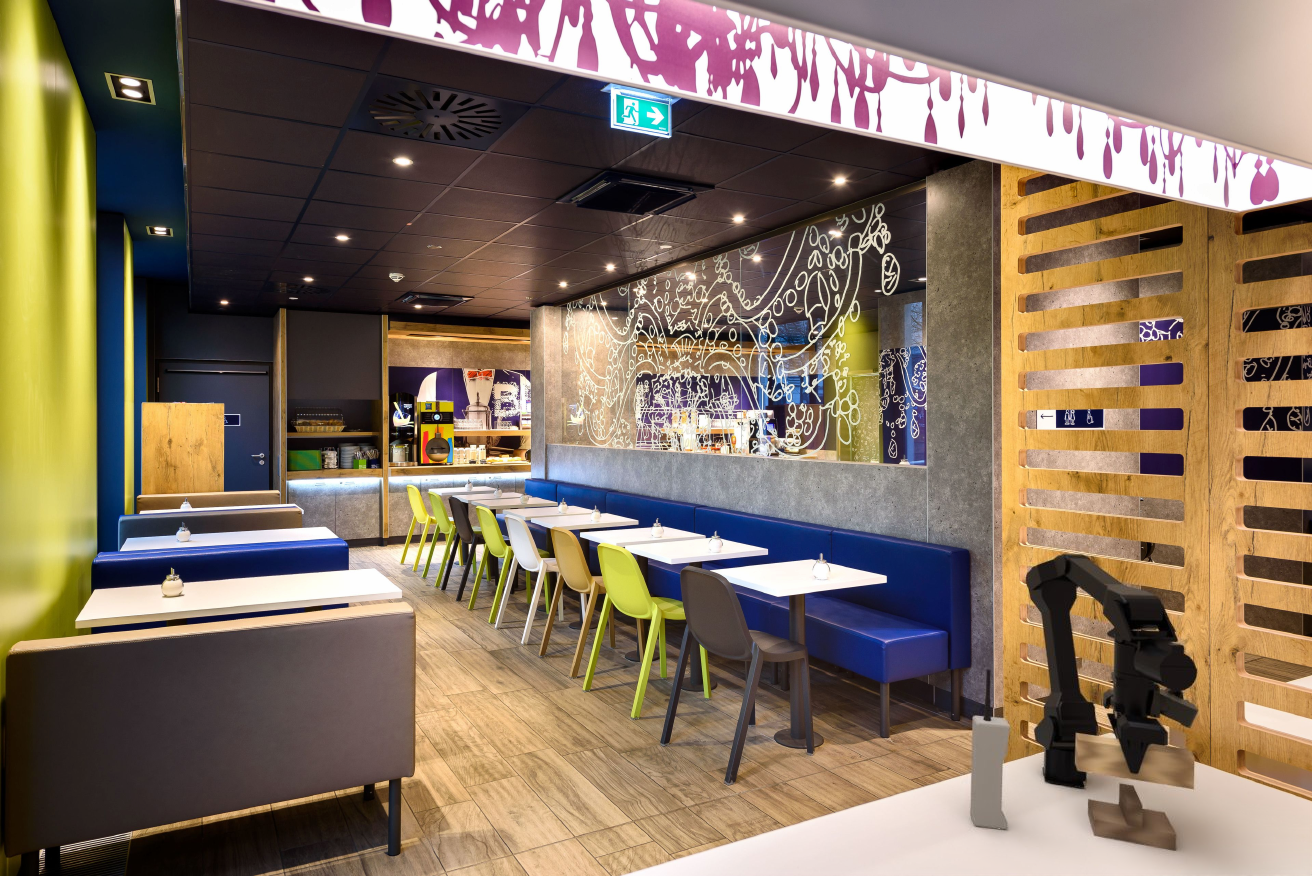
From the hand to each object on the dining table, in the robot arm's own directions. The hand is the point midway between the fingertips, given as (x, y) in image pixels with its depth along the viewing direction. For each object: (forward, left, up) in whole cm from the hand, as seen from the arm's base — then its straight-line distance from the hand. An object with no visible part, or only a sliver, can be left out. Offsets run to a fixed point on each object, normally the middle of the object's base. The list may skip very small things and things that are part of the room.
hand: (1131, 768), depth 127 cm
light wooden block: (0, 0, -1) cm, 1 cm away
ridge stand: (0, 0, -10) cm, 10 cm away
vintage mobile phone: (-21, -7, -10) cm, 25 cm away
